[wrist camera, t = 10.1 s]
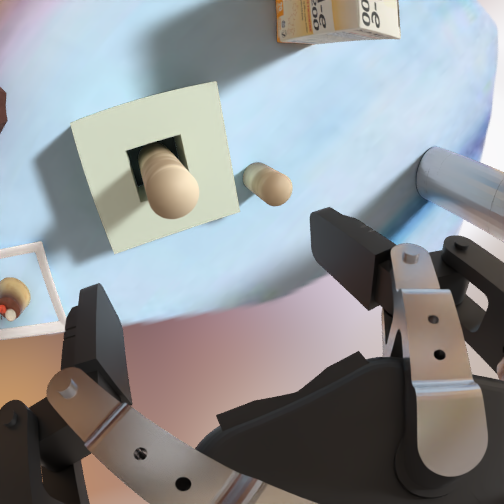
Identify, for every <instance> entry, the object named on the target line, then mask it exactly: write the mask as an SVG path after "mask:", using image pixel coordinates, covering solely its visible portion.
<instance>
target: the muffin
mask: <svg viewBox="0 0 504 504" xmlns="http://www.w3.org/2000/svg"><path fill="white" fill-rule="evenodd" d="M6 122H7V115H6V92H5V91H4V90H3V89H2V88H1V87H0V133H1V131H2V129H3V128H4V126H5V124H6Z"/></svg>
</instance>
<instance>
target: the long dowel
mask: <svg viewBox="0 0 504 504" xmlns="http://www.w3.org/2000/svg"><path fill="white" fill-rule="evenodd" d="M138 163H139V167H140V171H141V175H142V179H143V183H144V187H145V191H146V194H147V198H148V202H149V205H150V207H151V209H152V210H153V211H154V212H155V213H156V214H157V215H158V216H160V217H162V218H166V219H178V218H181V217H184V216H185V215H187V214H188V213H190V212H191V211H192V210H193V209H194V207H195V206H196V204H197V202H198V198H199V186H198V183H197V181H196V180H195V178H194V177H193V176H192V175H191V174H190V172H189V171H188V170H187V169H186V168H185V167H184V166H183V165H182V164H181V162H180V161H179V160H178V159H177V158H176V157H175V156H174V155H173V153H172V152H171V151H170V150H169V149H168V148H167V147H166V146H165V145H164V144H162V143H159V142H152V143H149V144H146V145H145V146H144V147H143V148H142V149H141V150H140V152H139V155H138Z"/></svg>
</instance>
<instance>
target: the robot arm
mask: <svg viewBox="0 0 504 504" xmlns="http://www.w3.org/2000/svg"><path fill="white" fill-rule="evenodd" d="M417 189H418V192H419V194H420V196H421V197H423V198H424V199H426V200H428V201H430V202H432V203H434V204H436V205H438V206H440V207H442V208H444V209H446V210H448V211H450V212H451V213H453V214H455V215H457V216H459V217H461V218H463V219H464V220H466V221H468V222H470V223H472V224H473V225H475V226H477V227H479V228H480V229H482V230H484V231H486V232H487V233H489V234H491V235H493V236H494V237H496V238H498V239H499V240H501V241H502V242H504V172H502V171H499V170H497V169H495V168H492V167H490V166H488V165H485V164H483V163H480V162H478V161H475V160H473V159H470V158H468V157H465V156H462V155H460V154H457V153H454V152H452V151H449V150H446V149H443V148H440V147H433V148H431V149H429V150H428V151H427V152H426V153H425V155H424V156H423V158H422V160H421V162H420V164H419V167H418V171H417ZM310 231H311V249H312V253H313V256H314V258H315V260H316V261H317V262H318V263H319V264H320V265H321V266H322V267H323V268H324V269H325V270H326V271H327V272H328V273H329V274H330V275H331V276H333V277H334V278H335V279H336V280H337V281H338V282H339V283H340V284H341V285H342V286H343V287H344V288H345V289H346V290H347V291H348V292H350V293H351V294H352V295H353V296H354V297H355V298H356V299H357V300H358V301H359V302H360V303H361V304H362V305H363V306H364V307H365V308H366V309H367V310H368V311H369V310H371V309H373V308H375V307H377V306H379V305H381V306H382V307H383V308H382V338H383V357H376V358H370V359H365V358H364V357H363V356H362V354H361V353H360V352H359V351H358V352H356V353H354V354H352V355H350V356H348V357H347V358H345V359H343V360H341V361H339V362H337V363H335V364H333V365H331V366H329V367H327V368H326V369H325V370H324V371H323V372H321V373H320V374H319V375H318V376H317V377H315V378H314V379H313V380H312V381H311V382H309V383H308V384H307V385H305V386H304V387H303V388H302V389H300V390H299V391H298V392H295V393H291V394H287V395H282V396H277V397H272V398H266V399H261V400H256V401H252V402H250V403H247V404H245V405H242V406H239V407H237V408H234V409H232V410H229V411H227V412H224V413H221V414H218V415H216V416H217V419H218V421H219V424H220V426H219V427H217V428H216V429H214V430H213V431H212V432H210V433H209V434H208V435H207V436H206V437H205V438H204V439H203V440H202V441H201V442H200V443H199V444H198V446H197V447H196V448H195V449H194V448H192V447H191V446H188V445H187V444H186V443H184V442H182V441H181V440H179V439H178V438H176V437H174V436H173V435H171V434H170V433H168V432H167V431H165V430H163V429H162V428H161V427H159V426H158V425H156V424H155V423H153V422H152V421H150V420H149V419H147V418H146V417H145V416H143V415H142V414H141V413H139V412H138V411H136V410H135V409H134V408H132V407H131V406H130V405H132V399H131V392H130V387H129V379H128V372H127V364H126V356H125V347H124V337H123V329H122V325H121V322H120V320H119V317H118V315H117V314H116V312H115V310H114V308H113V306H112V304H111V302H110V300H109V298H108V296H107V294H106V292H105V290H104V288H103V287H102V285H101V284H100V283H98V284H95V285H92V286H89V287H87V288H84V289H81V290H80V295H79V303H78V306H75V307H73V308H72V309H71V311H70V313H69V314H68V316H67V318H66V323H65V332H64V341H63V349H62V361H61V371H59V372H58V373H57V374H55V375H54V377H53V378H52V379H51V380H50V382H49V385H48V387H47V397H45V398H44V399H42V400H41V401H39V402H37V403H36V404H34V405H33V406H31V407H29V408H28V407H27V406H26V405H25V404H24V403H23V402H21V401H19V400H12V401H9V402H8V403H6V404H5V405H4V406H3V407H2V408H1V409H0V504H90V503H89V499H88V495H87V490H86V485H85V480H84V475H83V470H82V464H81V459H82V458H84V457H86V456H88V455H89V454H91V453H92V454H93V455H94V456H95V457H96V458H97V459H98V460H99V461H100V462H102V463H103V464H104V465H105V466H106V467H107V468H108V469H109V470H110V471H111V472H112V473H114V475H116V476H117V477H118V478H119V479H120V480H121V481H122V482H124V483H125V484H126V485H127V486H128V487H129V488H131V489H132V490H133V491H134V492H135V493H137V494H138V495H139V496H140V497H142V498H143V499H144V500H146V501H147V502H148V503H150V504H504V263H503V262H502V261H500V260H499V259H498V258H496V257H495V256H493V255H492V254H490V253H489V252H488V251H486V250H485V249H483V248H482V247H480V246H479V245H477V244H476V243H475V242H473V241H472V240H470V239H468V238H465V237H462V236H449V237H447V238H446V239H445V240H444V244H443V249H442V250H441V251H435V252H430V253H428V251H427V250H426V249H424V248H423V247H421V246H418V245H415V244H410V243H404V244H399V245H396V244H394V243H393V242H391V241H390V240H388V239H387V238H385V237H384V236H382V235H381V234H379V233H378V232H376V231H373V229H371V228H370V227H368V226H366V225H365V224H364V223H362V222H361V221H359V220H357V219H355V218H352V217H348V216H345V215H344V216H343V215H342V214H340V213H339V212H337V211H336V210H334V209H332V208H331V207H328V208H324V209H321V210H318V211H315V212H312V213H311V215H310ZM469 281H470V282H471V283H472V284H473V285H475V286H476V287H477V288H478V289H480V290H481V291H482V292H483V293H484V294H485V295H486V296H487V298H488V302H489V303H488V308H487V311H484V310H483V309H482V308H481V307H480V306H479V305H478V304H476V303H475V302H474V301H473V300H472V299H471V298H469V297H468V296H467V295H466V290H467V288H468V284H469ZM465 341H466V342H467V343H468V344H469V345H470V346H471V347H472V348H473V349H474V350H475V351H476V352H477V353H478V354H479V355H480V356H481V357H482V358H483V359H484V360H485V362H486V363H487V364H488V365H489V366H490V367H491V368H492V369H493V370H494V371H495V372H496V373H497V375H498V377H499V380H497V379H492V378H487V377H482V376H477V375H472V372H471V367H470V363H469V358H468V353H467V349H466V345H465ZM41 469H42V473H41ZM42 479H43V482H42Z"/></svg>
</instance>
